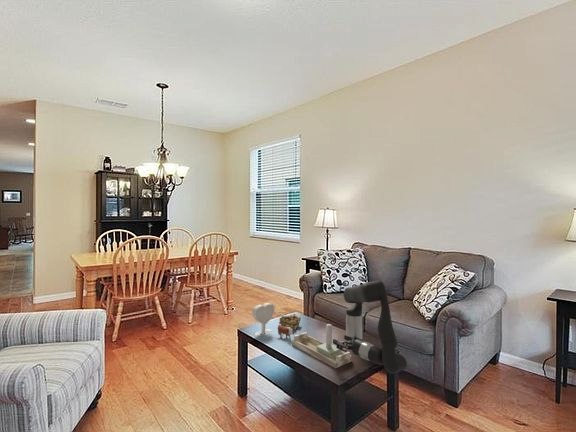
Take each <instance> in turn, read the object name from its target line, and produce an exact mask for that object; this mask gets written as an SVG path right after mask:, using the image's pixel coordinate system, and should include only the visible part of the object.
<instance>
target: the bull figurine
mask: <svg viewBox="0 0 576 432" xmlns="http://www.w3.org/2000/svg"><path fill="white" fill-rule="evenodd" d="M294 330H295V329H292V328H290V327H284V326H281V324H279V325H278V326H277V333H278V335H279V338H280V339H283V338H282V337H283V335H285V339H287V338H288V337H289V339H291V338H292V337H291V335H292V334H293V331H294Z"/></svg>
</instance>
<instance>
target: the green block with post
mask: <svg viewBox="0 0 576 432" xmlns="http://www.w3.org/2000/svg"><path fill="white" fill-rule="evenodd" d="M325 325H326V326H325V327H326V331H325V333H326V334H325V335H326V336H325V342H324V344H321V345H319V346H317V351H318V352H320V353H322V354H324V355H326V356H328V357H330V358H332V359H334V360H336V356H339V355H341V351H342V350H340V349H337V348H336V347H337V345H335V344H333V325H332V324H330V323H328V324H325Z"/></svg>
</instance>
